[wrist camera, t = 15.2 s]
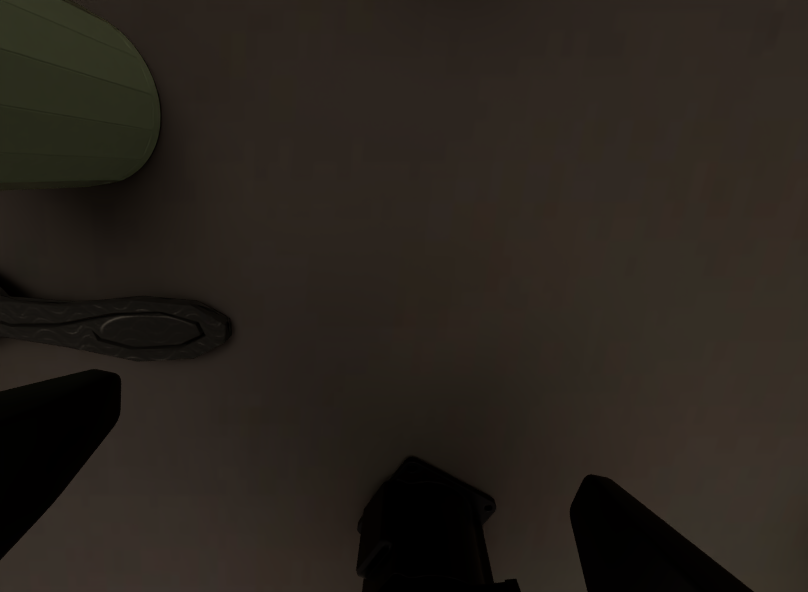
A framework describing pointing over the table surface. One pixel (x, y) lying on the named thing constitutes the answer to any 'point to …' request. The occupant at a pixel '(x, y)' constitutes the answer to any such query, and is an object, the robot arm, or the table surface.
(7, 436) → the robot arm
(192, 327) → the hairbrush
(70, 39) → the pen cup
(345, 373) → the table surface
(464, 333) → the table surface
